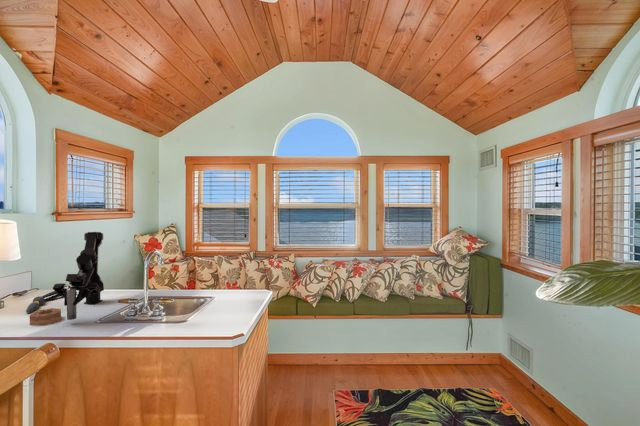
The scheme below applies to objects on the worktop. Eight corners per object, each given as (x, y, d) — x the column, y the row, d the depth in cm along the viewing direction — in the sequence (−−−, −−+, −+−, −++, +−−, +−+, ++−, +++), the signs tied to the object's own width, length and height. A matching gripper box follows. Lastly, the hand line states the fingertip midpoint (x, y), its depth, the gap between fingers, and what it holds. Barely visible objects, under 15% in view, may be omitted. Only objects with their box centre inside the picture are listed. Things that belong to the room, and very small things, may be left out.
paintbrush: (37, 313, 165) (37, 303, 165) (24, 315, 163) (24, 305, 162) (46, 302, 182) (46, 293, 182) (35, 304, 180) (35, 294, 180)
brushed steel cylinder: (71, 316, 154) (71, 287, 153) (78, 317, 153) (78, 287, 153) (65, 319, 150) (64, 289, 150) (71, 320, 150) (71, 289, 149)
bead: (47, 315, 161) (47, 307, 161) (66, 317, 160) (66, 309, 160) (23, 324, 151) (23, 315, 150) (44, 325, 149) (44, 317, 149)
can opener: (70, 293, 199) (70, 284, 199) (78, 295, 197) (78, 285, 197) (36, 302, 183) (36, 292, 182) (44, 303, 180) (44, 293, 180)
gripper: (54, 266, 154) (37, 296, 143) (97, 266, 156) (84, 296, 145) (66, 279, 162) (50, 308, 151) (106, 278, 164) (94, 308, 153)
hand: (69, 305), depth 150 cm, fingers closed on brushed steel cylinder, 3 cm apart
